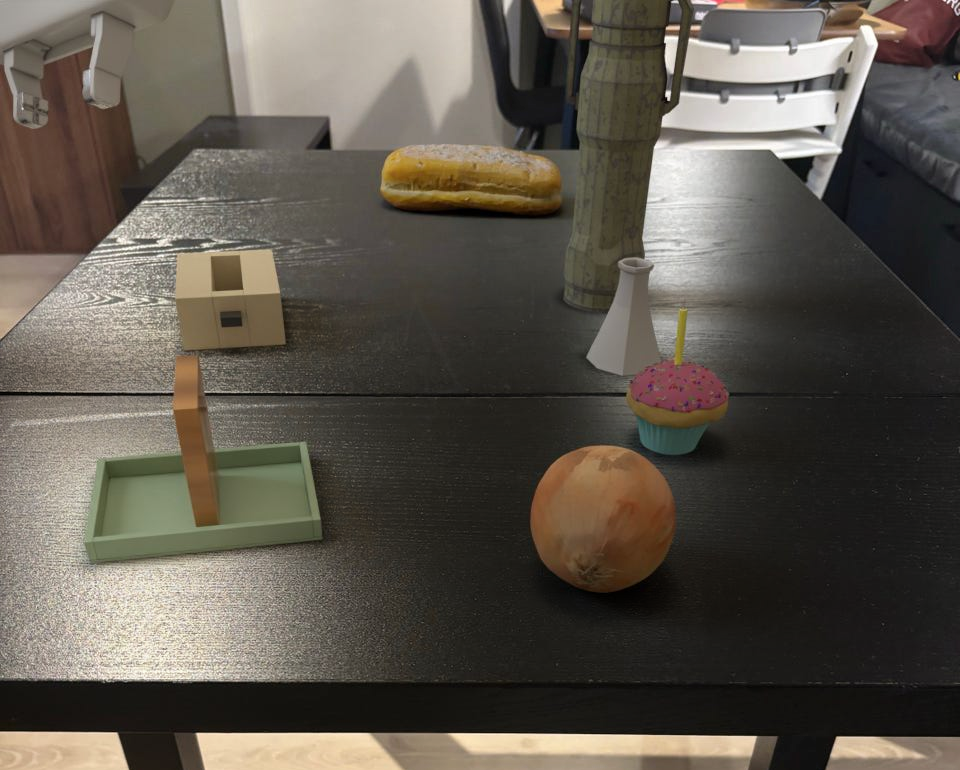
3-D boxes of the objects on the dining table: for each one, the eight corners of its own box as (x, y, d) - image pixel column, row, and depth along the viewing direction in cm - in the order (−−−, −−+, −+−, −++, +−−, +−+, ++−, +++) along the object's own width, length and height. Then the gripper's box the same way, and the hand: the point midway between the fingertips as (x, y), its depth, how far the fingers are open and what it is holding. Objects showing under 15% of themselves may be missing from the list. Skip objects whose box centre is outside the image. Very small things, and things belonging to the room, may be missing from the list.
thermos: (650, 319, 105) (706, -71, 83) (546, 310, 107) (573, -76, 84) (652, 293, 112) (705, -75, 90) (554, 285, 113) (582, -79, 91)
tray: (90, 566, 66) (83, 542, 64) (103, 480, 75) (97, 458, 73) (323, 542, 69) (320, 519, 67) (308, 463, 78) (306, 441, 76)
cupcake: (608, 425, 85) (625, 291, 77) (697, 419, 86) (722, 287, 78) (638, 471, 78) (659, 330, 70) (734, 465, 79) (765, 325, 72)
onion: (658, 543, 70) (679, 419, 63) (670, 625, 62) (696, 494, 56) (528, 535, 70) (536, 411, 64) (524, 617, 62) (533, 485, 56)
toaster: (186, 309, 104) (177, 253, 100) (278, 304, 106) (272, 249, 102) (185, 365, 92) (174, 304, 89) (287, 358, 94) (281, 298, 90)
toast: (198, 477, 75) (175, 355, 68) (218, 475, 75) (198, 354, 68) (197, 537, 68) (172, 409, 61) (220, 535, 68) (197, 407, 62)
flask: (621, 383, 92) (634, 280, 85) (573, 358, 96) (582, 258, 90) (674, 367, 95) (690, 266, 89) (625, 344, 99) (637, 246, 93)
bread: (384, 193, 144) (382, 135, 139) (556, 197, 144) (560, 140, 139) (378, 218, 133) (376, 157, 128) (563, 222, 134) (568, 161, 129)
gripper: (-52, -96, 64) (-52, 121, 67) (105, -201, 52) (97, 70, 54) (39, -51, 69) (36, 150, 72) (203, -137, 57) (192, 110, 59)
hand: (64, 115), depth 63 cm, fingers open, 8 cm apart
